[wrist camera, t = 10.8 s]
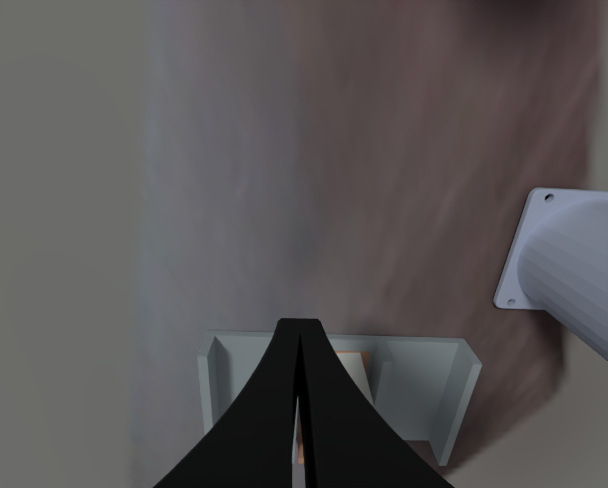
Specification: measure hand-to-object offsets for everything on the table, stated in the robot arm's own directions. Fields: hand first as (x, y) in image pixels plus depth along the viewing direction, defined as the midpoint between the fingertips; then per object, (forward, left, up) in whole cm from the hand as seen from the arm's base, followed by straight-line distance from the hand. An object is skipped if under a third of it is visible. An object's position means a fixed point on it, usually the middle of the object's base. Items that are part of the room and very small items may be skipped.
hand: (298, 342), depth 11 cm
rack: (-3, +12, -9) cm, 16 cm away
